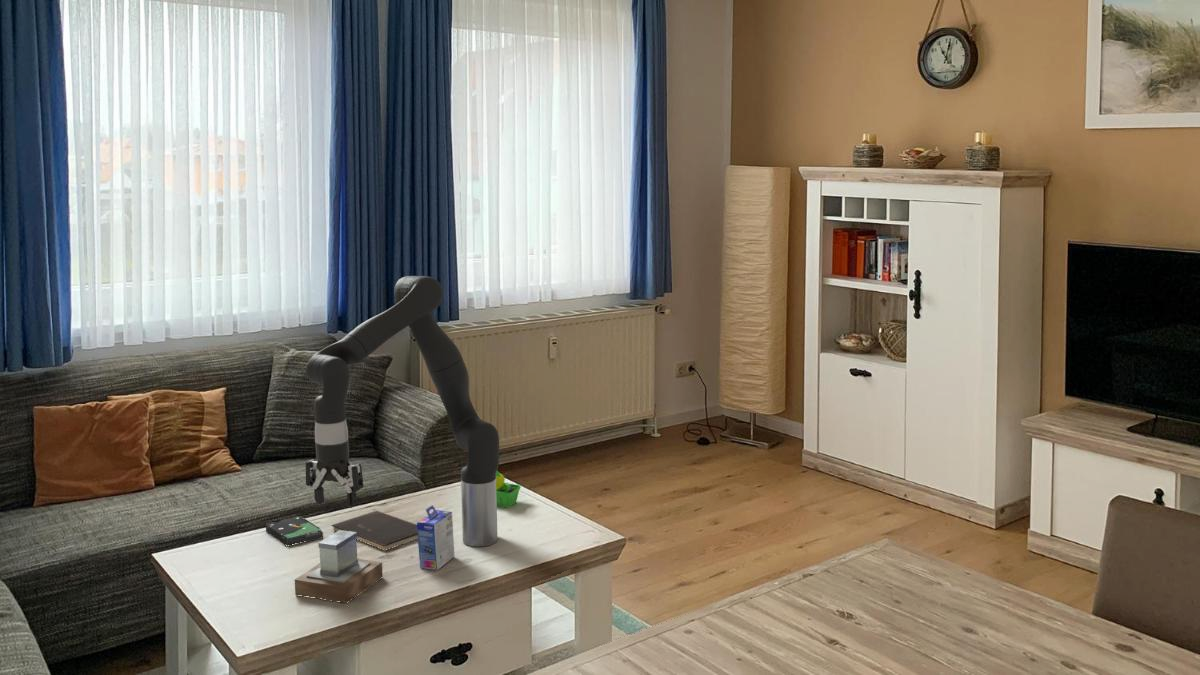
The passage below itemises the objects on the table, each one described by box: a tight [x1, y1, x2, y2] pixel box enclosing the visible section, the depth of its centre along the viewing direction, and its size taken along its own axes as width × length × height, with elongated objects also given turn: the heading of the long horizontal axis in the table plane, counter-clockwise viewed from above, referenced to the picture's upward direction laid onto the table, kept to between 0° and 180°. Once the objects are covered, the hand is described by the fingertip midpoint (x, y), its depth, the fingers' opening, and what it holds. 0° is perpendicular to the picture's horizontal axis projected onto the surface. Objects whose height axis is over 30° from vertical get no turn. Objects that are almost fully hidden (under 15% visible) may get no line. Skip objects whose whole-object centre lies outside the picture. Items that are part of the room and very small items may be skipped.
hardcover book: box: [331, 510, 418, 551], centre depth 295 cm, size 16×23×2 cm
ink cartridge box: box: [416, 505, 455, 571], centre depth 274 cm, size 10×6×14 cm, turn 161°
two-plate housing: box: [318, 530, 359, 578], centre depth 259 cm, size 5×9×8 cm, turn 161°
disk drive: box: [265, 515, 324, 547], centre depth 295 cm, size 10×3×15 cm
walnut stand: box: [294, 558, 384, 604], centre depth 260 cm, size 16×14×4 cm
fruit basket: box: [496, 470, 522, 508], centre depth 318 cm, size 11×9×11 cm
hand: (335, 504), depth 257 cm, fingers open, 8 cm apart
